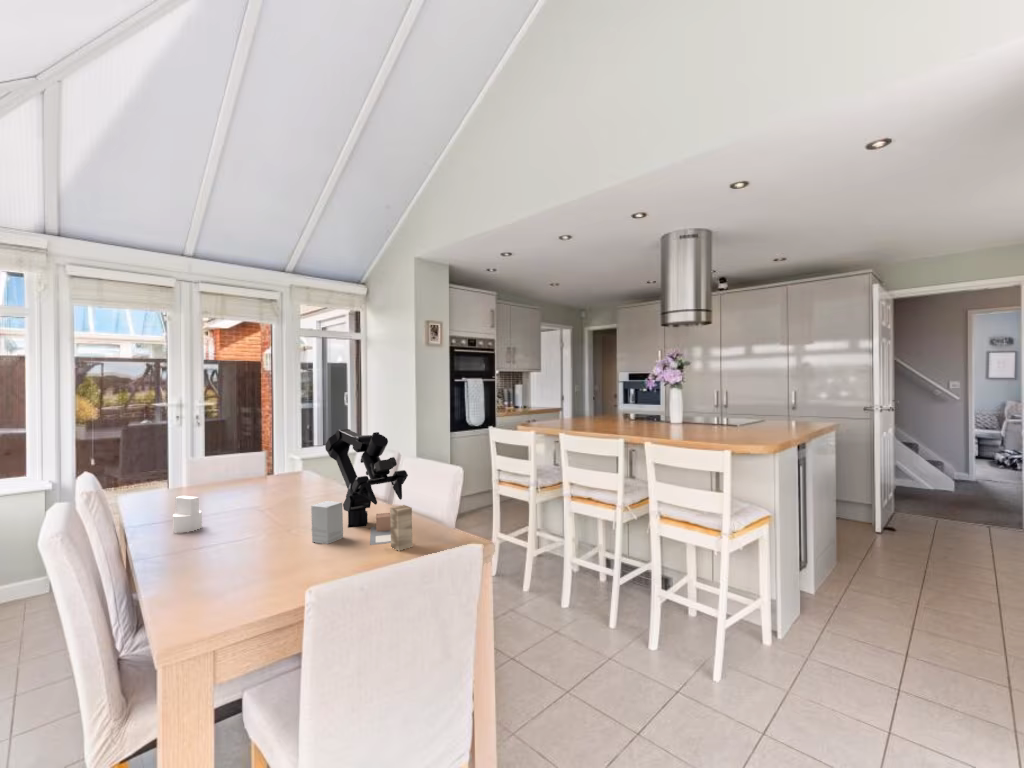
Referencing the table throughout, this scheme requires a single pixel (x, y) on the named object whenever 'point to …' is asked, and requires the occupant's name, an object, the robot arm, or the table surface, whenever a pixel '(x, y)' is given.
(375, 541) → the mat
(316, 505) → the supplement box
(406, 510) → the beech post
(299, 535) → the table surface
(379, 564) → the table surface
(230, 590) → the table surface
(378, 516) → the terracotta block
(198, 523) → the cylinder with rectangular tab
